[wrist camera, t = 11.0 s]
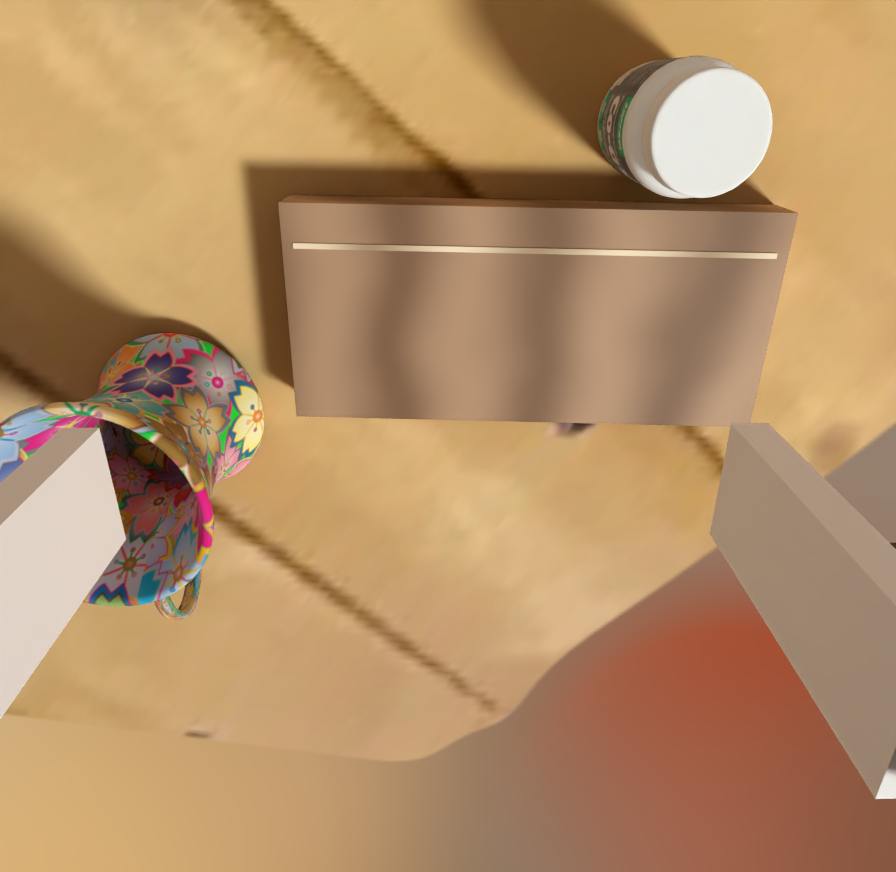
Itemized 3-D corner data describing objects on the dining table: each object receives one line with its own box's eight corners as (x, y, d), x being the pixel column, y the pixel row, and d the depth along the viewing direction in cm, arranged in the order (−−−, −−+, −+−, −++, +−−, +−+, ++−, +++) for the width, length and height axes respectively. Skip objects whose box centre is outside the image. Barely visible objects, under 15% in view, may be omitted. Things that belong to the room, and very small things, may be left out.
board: (306, 396, 36) (296, 416, 34) (291, 194, 32) (277, 202, 30) (731, 406, 36) (749, 427, 34) (774, 204, 32) (798, 213, 30)
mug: (68, 340, 35) (-78, 431, 26) (241, 302, 34) (155, 383, 25) (160, 534, 41) (67, 670, 31) (314, 506, 39) (266, 638, 30)
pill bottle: (585, 82, 30) (626, 79, 22) (697, 44, 29) (779, 28, 22) (606, 194, 32) (651, 226, 24) (713, 161, 31) (793, 184, 24)
